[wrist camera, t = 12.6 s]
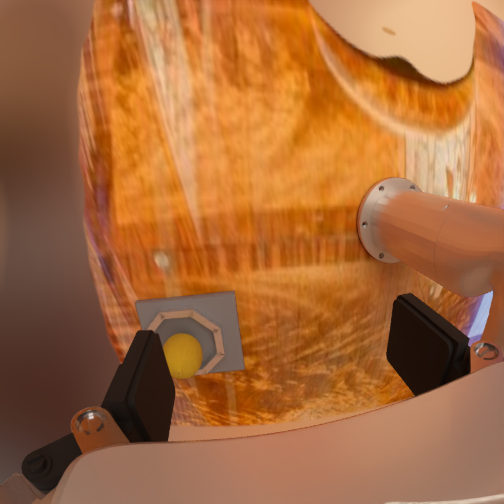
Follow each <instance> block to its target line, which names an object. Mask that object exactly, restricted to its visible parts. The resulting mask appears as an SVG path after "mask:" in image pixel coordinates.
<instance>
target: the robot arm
mask: <svg viewBox="0 0 504 504" xmlns="http://www.w3.org/2000/svg"><path fill="white" fill-rule="evenodd" d="M379 187H380V189H379ZM363 222H364V224H363ZM362 224H363V225H362ZM357 227H358V234H359V237H360V240H361V243H362V245H363V246H364V248H365V250H366V251H367V252H368V253H369V254H370V255H371V256H373V257H374V258H375V259H377V260H379V261H381V262H385V263H399V262H404V263H405V264H407V265H409V266H410V267H412V268H414V269H415V270H417V271H419V272H420V273H422V274H424V275H425V276H427V277H428V278H430V279H432V280H433V281H435V282H436V283H438V284H440V285H441V286H443V287H445V288H446V289H448V290H449V291H451V292H453V293H455V294H457V295H459V296H463V297H476V296H481V295H483V294H486V293H488V292H491V291H493V298H492V302H491V306H490V310H489V316H488V319H487V322H486V325H485V328H484V331H483V334H482V337H481V340H480V341H477V342H475V343H473V344H472V346H471V348H470V347H469V346H468V342H469V338H468V337H467V336H466V335H464V334H463V333H462V332H461V331H460V330H458V329H457V328H456V327H455V326H453V325H452V324H451V323H449V322H448V321H447V320H446V319H444V318H443V317H442V316H441V315H439V314H438V313H437V312H435V311H434V310H433V309H432V308H430V307H429V306H428V305H426V304H425V303H424V302H422V301H421V300H420V299H418V298H417V297H416V296H414V295H413V294H411V293H408V294H403V295H399V296H398V297H397V298H396V300H394V303H393V310H392V318H391V326H390V333H389V340H388V346H387V352H386V356H387V360H388V361H389V363H390V364H391V365H392V367H393V368H394V369H395V370H396V372H397V373H398V374H399V376H400V377H401V378H402V379H403V381H404V382H405V383H406V385H407V386H408V387H409V389H410V390H411V391H412V392H413V394H414V395H415V397H412V398H409V399H406V400H404V401H401V402H398V403H395V404H392V405H389V406H386V407H383V408H379V409H376V410H373V411H370V412H366V413H363V414H359V415H356V416H352V417H348V418H345V419H340V420H336V421H332V422H328V423H324V424H319V425H314V426H310V427H305V428H299V429H294V430H288V431H283V432H277V433H271V434H263V435H255V436H247V437H238V438H227V439H214V440H197V441H171V442H168V437H169V430H170V424H171V418H172V411H173V405H174V400H175V386H174V383H173V380H172V377H171V374H170V370H169V367H168V364H167V361H166V357H165V354H164V350H163V347H162V343H161V340H160V336H159V334H158V333H154V331H153V330H140V331H138V332H137V333H136V335H135V337H134V340H133V342H132V344H131V346H130V348H129V350H128V352H127V355H126V357H125V359H124V361H123V363H122V364H120V365H119V367H118V369H117V371H116V373H115V376H114V378H113V380H112V382H111V385H110V387H109V389H108V391H107V394H106V396H105V399H104V401H103V403H102V405H101V407H89V408H85V409H83V410H81V411H79V412H78V413H77V414H76V415H75V416H74V417H73V419H72V421H71V430H72V433H70V434H69V435H67V436H64V437H63V438H61V439H58V440H56V441H54V442H52V443H50V444H48V445H46V446H44V447H42V448H40V449H38V450H36V451H33V452H31V453H30V454H28V455H27V456H26V457H25V459H24V461H23V463H22V473H21V474H20V475H18V474H17V473H15V474H14V475H12V476H11V477H10V478H9V479H8V480H7V481H5V482H4V483H3V484H2V485H0V504H504V210H503V209H498V208H493V207H488V206H484V205H480V204H475V203H471V202H466V201H462V200H457V199H453V198H448V197H443V196H438V195H433V194H428V193H423V192H422V191H421V189H420V188H419V187H418V186H417V185H416V184H415V183H413V182H412V181H410V180H407V179H404V178H399V177H390V178H386V179H383V180H381V181H379V182H377V183H376V184H375V185H374V186H372V187H371V188H370V190H369V191H368V192H367V193H366V195H365V197H364V198H363V200H362V203H361V205H360V208H359V212H358V219H357ZM379 254H380V255H379Z"/></svg>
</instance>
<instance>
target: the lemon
mask: <svg viewBox="0 0 504 504" xmlns="http://www.w3.org/2000/svg"><path fill="white" fill-rule="evenodd" d="M163 350H164V354H165V357H166V361H167V364H168V367H169V370H170V374H171V376H172V377H174V378H177V379H187V378H190V377H192V376H193V375H195V374H196V373H197V371H198V370H199V368H200V366H201V364H202V360H203V352H202V348H201V345H200V343H199V342H198V340H197V339H196V338H194V337H193V336H191V335H189V334H186V333H179V334H175V335H173V336H171V337H170V338H169V339H168V340H167V341H166V342H165V344H164V346H163Z"/></svg>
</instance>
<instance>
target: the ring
mask: <svg viewBox="0 0 504 504" xmlns="http://www.w3.org/2000/svg"><path fill="white" fill-rule="evenodd" d="M183 317H192V318H193V319H195V320H196V321H198V322H199V323H201V324H202V325H204V326H205V327H207V328H208V329H210V330H212V331H213V332H214V338H215V343H216V350H215V351H214V352H213V353H212V354H211V355H210V357H209V358H208V359H207V360H206V361H205V362H204V363H202V364H201V366H200V368H199V370H198V371H197V373H196V374H195V375H203V374H207V373H208V372H209V371H210V370H211V369H212V368H213V367H214V366H215V365H216V364H217V363H218V362H219V361H220V360H221V359H222V358H223V357H224V356H225V348H224V342H223V336H222V330H221V324H220V322H218V321H217V320H215V319H214V318H212V317H211V316H209V315H208V314H206V313H205V312H203V311H202V310H200V309H199V308H197V307H196V306H195V305H187V306H177V307H166V308H161V309H160V311H159V312H158V313H157V315H156V316H155V317H154V319H153V320H152V321H151V323H150V324H149V325H148V327H147V328H146V329H145V330H153V331H155V330H156V329H157V327H158V326H159V325H160V324H161V322H162V321H163V320H164V319H172V318H183Z"/></svg>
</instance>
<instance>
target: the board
mask: <svg viewBox="0 0 504 504" xmlns="http://www.w3.org/2000/svg"><path fill="white" fill-rule="evenodd" d="M135 305H136V309H137V312H138V316H139V320H140V323H141V327H142V330H145V329H146V328H147V327H148V325H149V324H150V323H151V321H152V320H153V319H154V317H155V316H156V315H157V313H158V312H159V311H160V309H161V308H166V307H177V306H187V305H195V306H196V307H197V308H199V309H200V310H202V311H203V312H205V313H206V314H208V315H209V316H211V317H212V318H214V319H215V320H217V321H218V322H220V324H221V330H222V336H223V342H224V348H225V356H224V357H223V358H222V359H221V360H220V361H219V362H218V363H217V364H216V365H215V366H214V367H213V368H212V369H211V370H210V371H209V372H208V373H215V372H226V371H235V370H244V369H245V366H244V359H243V352H242V345H241V338H240V330H239V323H238V315H237V308H236V300H235V292H234V291H227V292H218V293H209V294H200V295H190V296H180V297H170V298H160V299H149V300H137V301H136V303H135ZM154 333H158V334H159V336H160V340H161V343H162V347H163V346H164V344H165V342H166V341H167V340H168V339H169V338H170V337H171V336H173V335H175V334H179V333H186V334H189V335H191V336H193V337H194V338H196V339H197V340H198V342H199V343H200V345H201V348H202V352H203V360H202V363H204V362H205V361H206V360H207V359H208V358H209V357H210V355H211V354H212V353H213V352H214V351H215V350H216V343H215V338H214V332H213V331H212V330H210V329H208V328H207V327H205V326H204V325H202V324H201V323H199V322H198V321H196V320H195V319H193V318H192V317H183V318H172V319H164V320H163V321H162V322H161V324H160V325H159V326H158V327H157V329H156V330H155V331H154Z"/></svg>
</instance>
